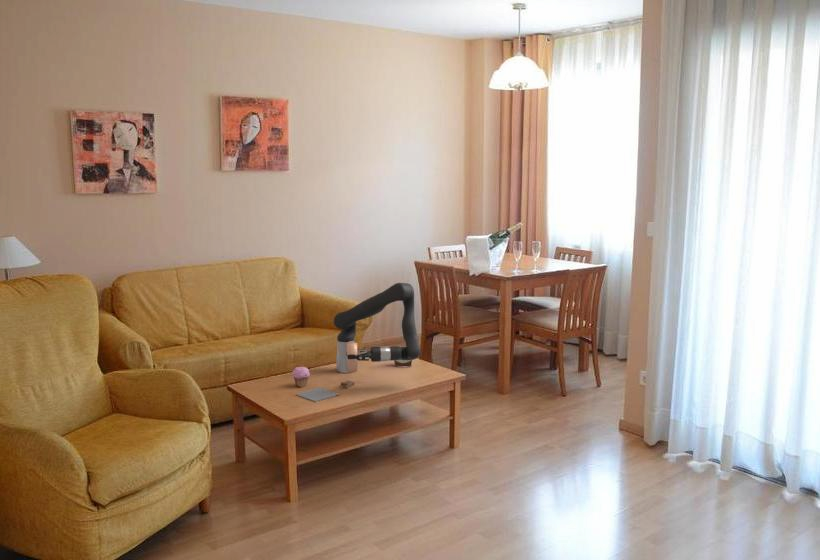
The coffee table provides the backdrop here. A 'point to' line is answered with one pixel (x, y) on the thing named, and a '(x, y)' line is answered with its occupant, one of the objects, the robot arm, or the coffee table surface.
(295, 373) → the cupcake
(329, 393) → the charcoal mat
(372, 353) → the robot arm
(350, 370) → the terracotta canister
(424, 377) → the coffee table surface
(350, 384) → the walnut block
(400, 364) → the food container
